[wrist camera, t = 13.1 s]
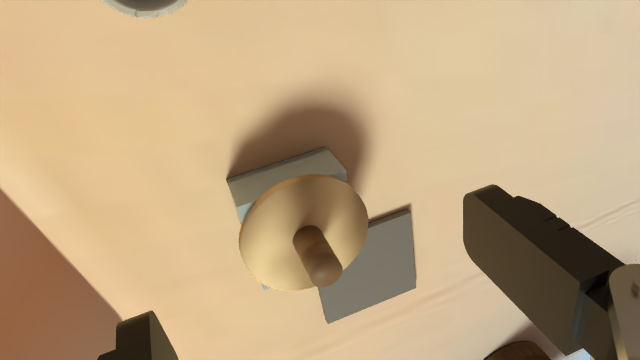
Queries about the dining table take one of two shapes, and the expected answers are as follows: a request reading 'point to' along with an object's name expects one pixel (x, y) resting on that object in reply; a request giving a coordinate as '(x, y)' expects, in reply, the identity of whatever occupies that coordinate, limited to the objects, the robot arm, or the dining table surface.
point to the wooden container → (519, 352)
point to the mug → (145, 7)
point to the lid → (303, 232)
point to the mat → (374, 269)
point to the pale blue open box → (281, 177)
